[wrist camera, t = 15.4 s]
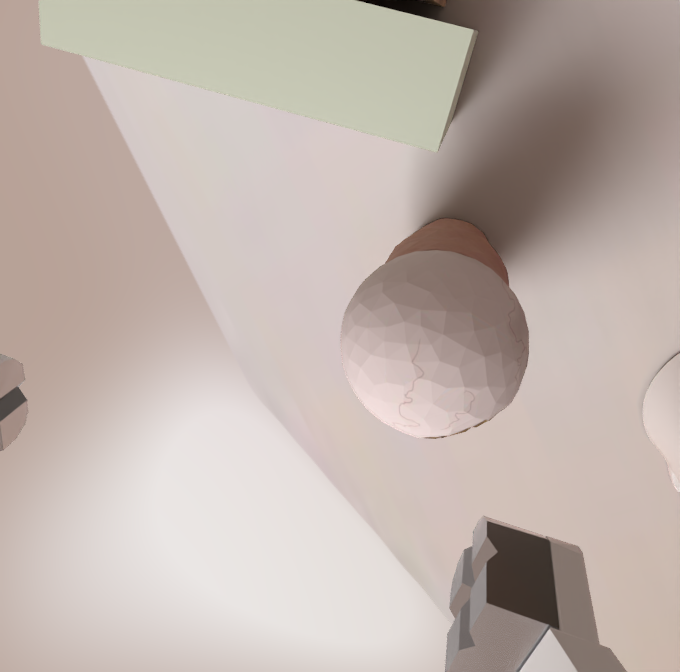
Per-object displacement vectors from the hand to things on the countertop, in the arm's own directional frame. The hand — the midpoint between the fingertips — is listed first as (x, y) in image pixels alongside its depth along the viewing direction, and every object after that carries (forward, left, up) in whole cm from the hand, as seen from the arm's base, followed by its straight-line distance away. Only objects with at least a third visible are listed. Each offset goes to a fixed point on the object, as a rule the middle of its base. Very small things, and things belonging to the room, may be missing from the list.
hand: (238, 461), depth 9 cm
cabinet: (+11, -7, -37) cm, 39 cm away
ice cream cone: (-4, +9, -37) cm, 39 cm away
